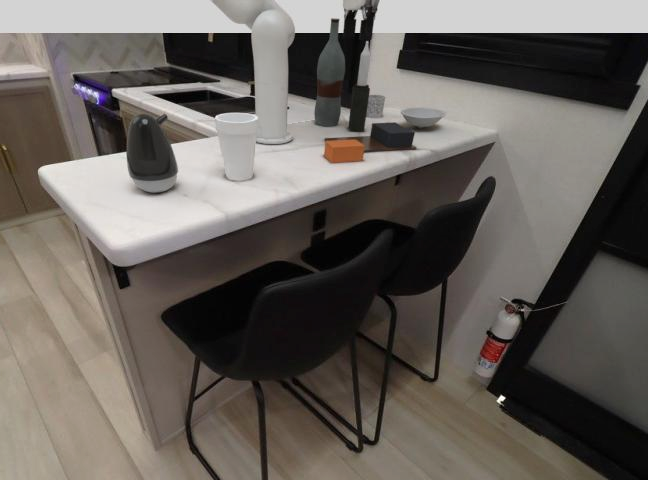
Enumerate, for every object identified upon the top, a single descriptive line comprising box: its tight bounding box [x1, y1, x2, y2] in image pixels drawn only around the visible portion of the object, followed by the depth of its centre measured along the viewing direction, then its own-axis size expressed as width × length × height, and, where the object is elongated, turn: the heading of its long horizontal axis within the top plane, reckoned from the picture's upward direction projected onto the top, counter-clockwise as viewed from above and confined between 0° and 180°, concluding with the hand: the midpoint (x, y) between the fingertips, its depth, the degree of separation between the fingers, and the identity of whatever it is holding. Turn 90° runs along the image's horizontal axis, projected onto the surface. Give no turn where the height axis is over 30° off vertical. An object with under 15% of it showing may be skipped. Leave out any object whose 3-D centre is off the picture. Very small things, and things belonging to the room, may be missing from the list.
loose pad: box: [323, 140, 365, 164], centre depth 102 cm, size 9×6×4 cm, turn 105°
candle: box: [347, 40, 371, 133], centre depth 121 cm, size 5×5×25 cm
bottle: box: [313, 17, 346, 128], centre depth 125 cm, size 9×9×30 cm
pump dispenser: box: [125, 112, 179, 194], centre depth 79 cm, size 10×10×15 cm
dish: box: [400, 107, 447, 129], centre depth 131 cm, size 18×14×5 cm
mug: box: [366, 94, 386, 119], centre depth 144 cm, size 10×7×7 cm, turn 113°
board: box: [324, 135, 417, 153], centre depth 115 cm, size 24×14×1 cm, turn 105°
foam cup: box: [214, 112, 258, 182], centre depth 87 cm, size 10×9×13 cm
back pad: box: [369, 122, 416, 148], centre depth 115 cm, size 8×12×4 cm, turn 15°
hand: (356, 38), depth 97 cm, fingers open, 9 cm apart
